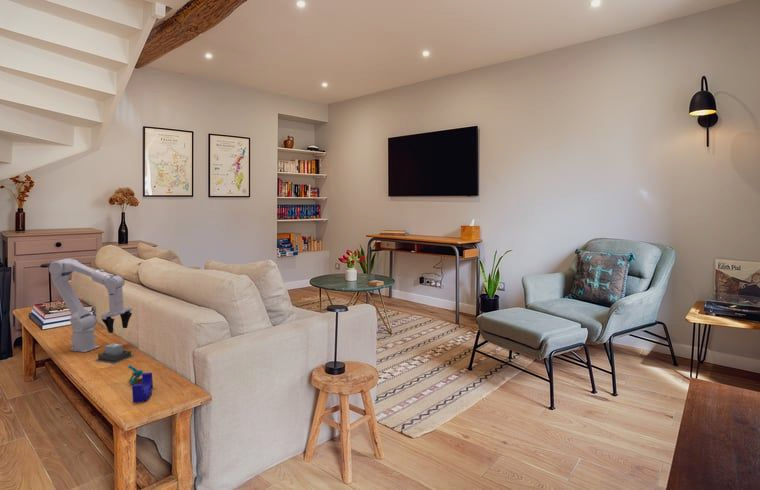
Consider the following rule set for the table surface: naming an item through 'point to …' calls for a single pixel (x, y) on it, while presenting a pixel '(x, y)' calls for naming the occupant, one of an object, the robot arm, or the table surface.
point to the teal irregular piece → (135, 374)
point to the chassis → (114, 357)
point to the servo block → (113, 349)
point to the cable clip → (143, 388)
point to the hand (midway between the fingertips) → (118, 330)
